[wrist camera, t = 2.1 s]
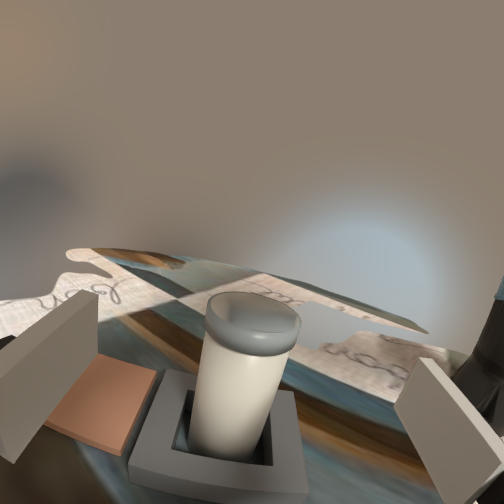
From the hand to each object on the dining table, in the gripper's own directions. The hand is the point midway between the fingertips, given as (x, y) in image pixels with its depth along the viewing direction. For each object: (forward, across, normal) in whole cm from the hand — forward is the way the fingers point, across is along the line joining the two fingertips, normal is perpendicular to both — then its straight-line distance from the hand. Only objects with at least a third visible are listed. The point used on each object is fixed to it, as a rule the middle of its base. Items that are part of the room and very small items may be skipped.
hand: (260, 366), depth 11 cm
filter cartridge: (+11, 0, -17) cm, 20 cm away
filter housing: (+11, 0, -17) cm, 20 cm away
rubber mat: (+13, -14, -17) cm, 25 cm away
